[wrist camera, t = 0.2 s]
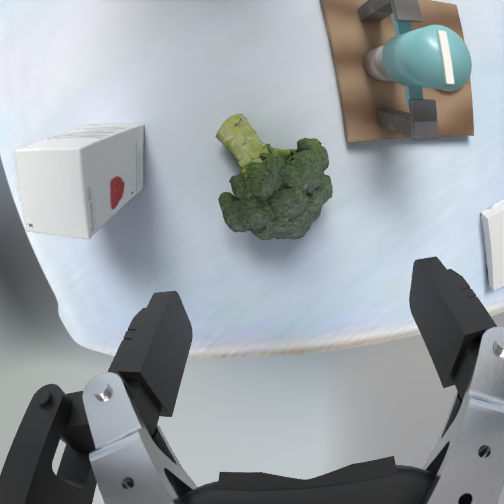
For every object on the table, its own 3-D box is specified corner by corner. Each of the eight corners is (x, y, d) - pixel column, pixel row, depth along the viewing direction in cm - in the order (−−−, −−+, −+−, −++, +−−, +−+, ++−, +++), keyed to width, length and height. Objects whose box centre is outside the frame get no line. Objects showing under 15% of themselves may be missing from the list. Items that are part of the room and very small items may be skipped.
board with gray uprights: (319, -1, 26) (339, -37, 15) (450, 6, 23) (504, -8, 13) (346, 140, 34) (377, 164, 24) (467, 133, 32) (523, 156, 21)
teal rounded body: (372, 13, 19) (403, -6, 13) (421, 16, 18) (461, 3, 12) (389, 109, 24) (425, 119, 17) (435, 108, 23) (478, 119, 16)
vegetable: (289, 75, 29) (376, 188, 28) (258, 136, 41) (320, 226, 40) (186, 107, 25) (281, 249, 24) (179, 171, 37) (244, 275, 36)
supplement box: (145, 189, 39) (90, 244, 26) (89, 185, 39) (24, 234, 26) (146, 122, 34) (80, 147, 22) (86, 123, 34) (11, 150, 21)
